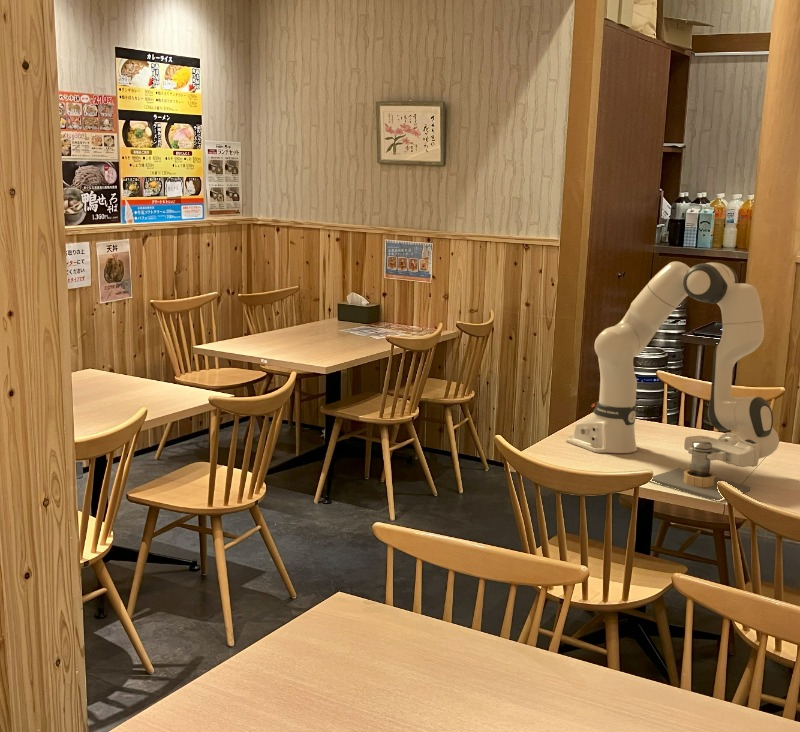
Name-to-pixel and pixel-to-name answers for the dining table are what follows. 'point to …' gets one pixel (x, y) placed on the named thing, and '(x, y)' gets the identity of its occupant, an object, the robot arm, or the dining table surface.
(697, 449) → the piston
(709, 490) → the collar plate
